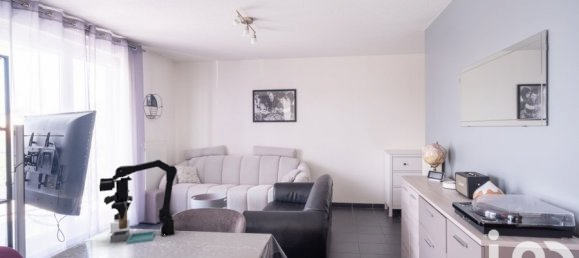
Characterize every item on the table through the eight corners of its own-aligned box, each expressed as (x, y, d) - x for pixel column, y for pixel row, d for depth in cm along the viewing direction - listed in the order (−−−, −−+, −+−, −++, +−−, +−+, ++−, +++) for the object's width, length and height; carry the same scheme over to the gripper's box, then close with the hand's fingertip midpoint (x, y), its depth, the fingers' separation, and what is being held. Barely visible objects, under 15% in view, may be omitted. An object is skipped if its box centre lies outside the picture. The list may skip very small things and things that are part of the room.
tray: (155, 235, 164) (155, 231, 164) (151, 242, 153) (151, 238, 153) (132, 238, 161) (131, 233, 161) (126, 246, 149) (126, 241, 149)
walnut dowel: (128, 226, 159) (127, 208, 159) (126, 228, 155) (125, 210, 155) (120, 227, 158) (119, 209, 158) (118, 229, 154) (117, 210, 154)
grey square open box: (129, 238, 161) (129, 230, 161) (126, 242, 154) (126, 234, 154) (114, 239, 159) (114, 231, 159) (110, 244, 152) (110, 236, 152)
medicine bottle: (129, 231, 174) (129, 211, 174) (121, 235, 166) (121, 214, 167) (118, 230, 174) (118, 211, 175) (110, 235, 167) (110, 214, 167)
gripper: (110, 187, 164) (111, 215, 163) (99, 193, 146) (100, 224, 145) (132, 185, 167) (133, 212, 167) (124, 191, 149) (124, 221, 149)
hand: (123, 217), depth 157 cm, fingers closed on walnut dowel, 4 cm apart
